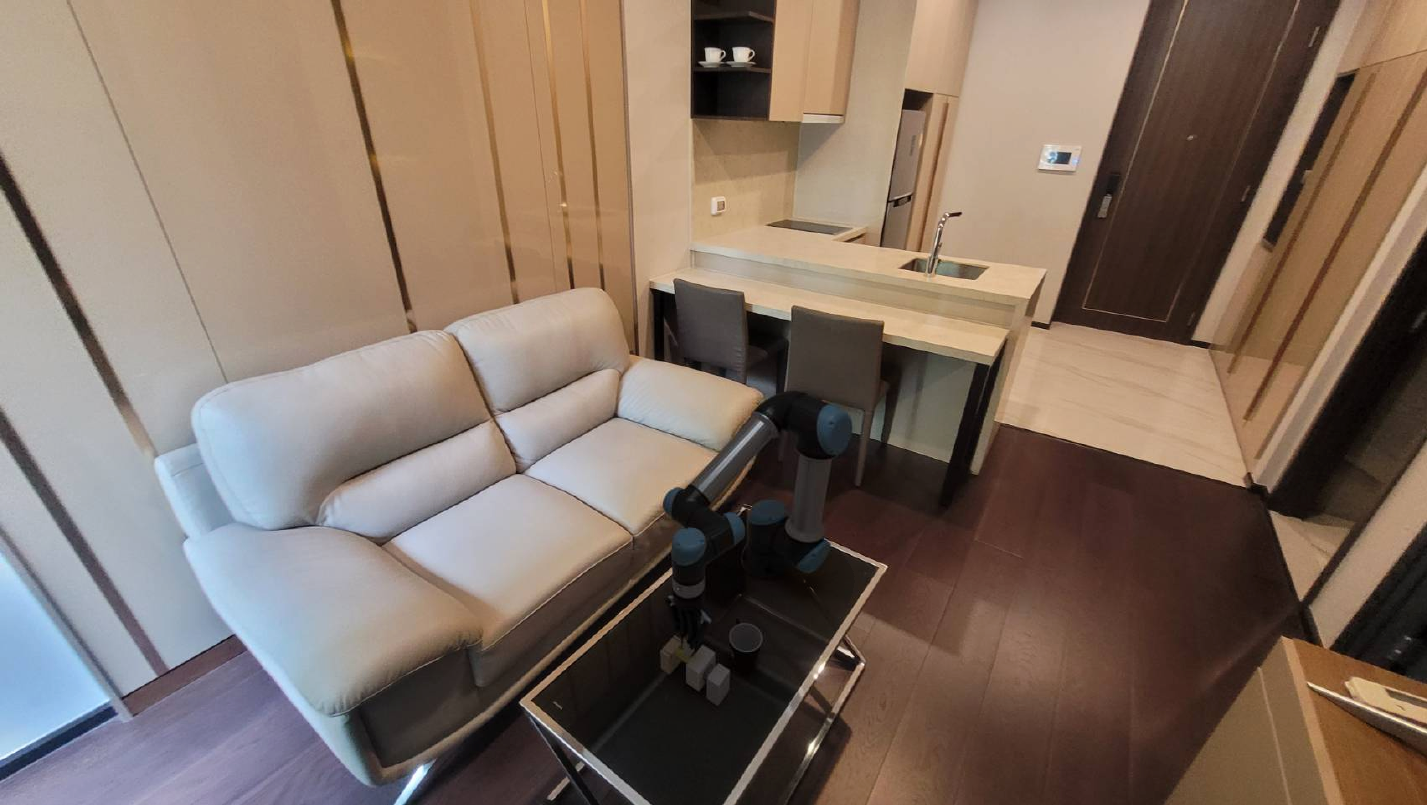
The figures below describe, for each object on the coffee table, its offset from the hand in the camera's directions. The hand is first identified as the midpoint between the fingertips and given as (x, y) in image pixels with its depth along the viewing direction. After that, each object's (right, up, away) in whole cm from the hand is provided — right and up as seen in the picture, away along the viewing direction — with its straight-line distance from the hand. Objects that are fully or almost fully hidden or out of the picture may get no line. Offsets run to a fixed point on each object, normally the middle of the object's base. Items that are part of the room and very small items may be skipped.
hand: (688, 653), depth 133 cm
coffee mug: (+15, -5, +9) cm, 18 cm away
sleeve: (+3, -6, +1) cm, 7 cm away
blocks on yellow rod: (+1, -8, +3) cm, 9 cm away
